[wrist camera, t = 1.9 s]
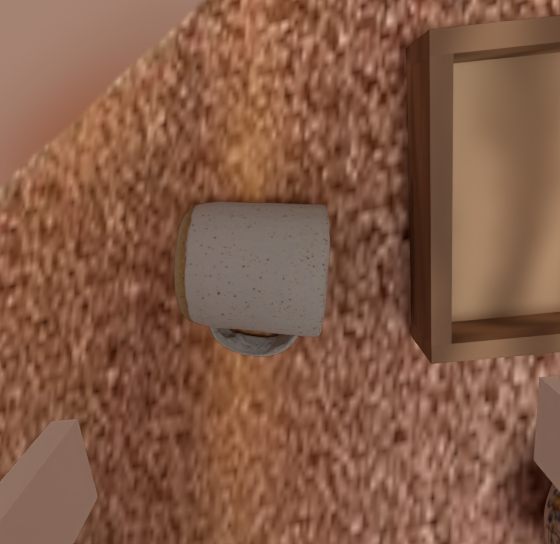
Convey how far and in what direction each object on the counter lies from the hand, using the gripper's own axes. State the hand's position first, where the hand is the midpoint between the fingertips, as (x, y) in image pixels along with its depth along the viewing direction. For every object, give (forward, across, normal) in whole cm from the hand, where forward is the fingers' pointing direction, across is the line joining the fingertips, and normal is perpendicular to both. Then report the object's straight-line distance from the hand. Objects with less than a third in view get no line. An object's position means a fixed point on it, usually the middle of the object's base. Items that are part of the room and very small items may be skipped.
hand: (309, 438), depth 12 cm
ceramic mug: (+18, -2, 0) cm, 18 cm away
